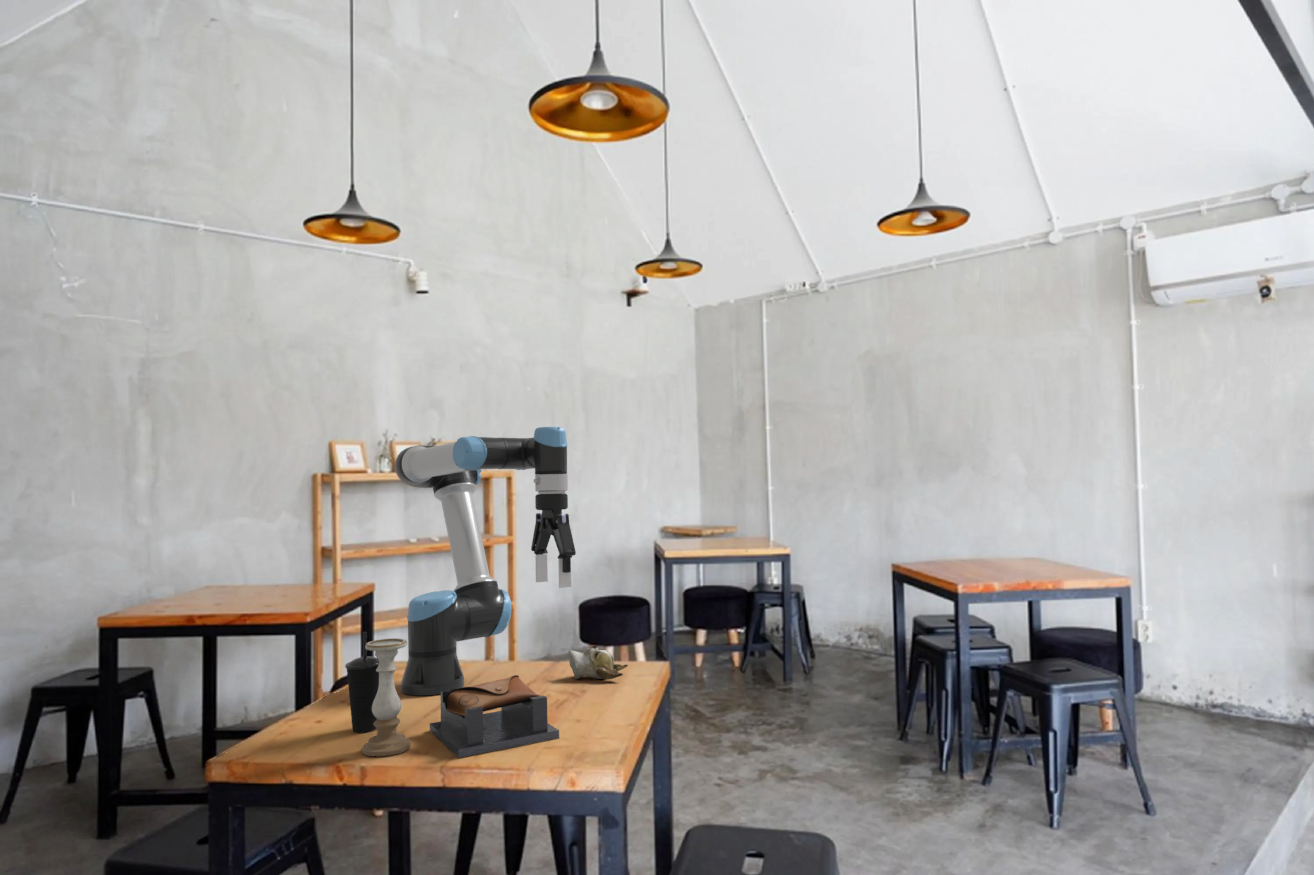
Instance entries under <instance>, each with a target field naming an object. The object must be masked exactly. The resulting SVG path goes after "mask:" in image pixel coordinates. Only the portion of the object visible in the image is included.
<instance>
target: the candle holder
mask: <svg viewBox="0 0 1314 875" xmlns="http://www.w3.org/2000/svg"><path fill="white" fill-rule="evenodd" d="M406 647H408V641H407V640H406V639H404V638H395V637H394V638H381V639H374V640H371V641H368V642H367V644H366V646H365V648H366V649H367V651H371V652H374V657H376V658H378V660H379V666H378V667H377V669H376V672H379V687H378V691H377V694H376V696H375V699H374V701H373V704H372V713H373V715H374V716H375V717H376V718H377V719H376V721H375V722H374V726H375V727H376V732H377V733H376V735H374V736H372V737H370V738H369V739H368V740H367V742H366V743H364V745H362V754H364V755H365V756H368V757H374V756H376V757H379V758H380V757H389V756H395V755H398V754H402V753H404V752H406V751H408V750H409V749H410V748H411V746H412V742H411V740H410V738H408V737H406V735H405V734H404V733H401V732H397V729H398V728H397V727H398V725H399V724H400V722H401V720H400V718H398V717H397V716H399V714H400V712H401V710H402V702H401V699H400V696H399V694H398V692H397V689H396V686H395V671H396V670H398V668H397V666H396V664H395V658H396V656H397V655H398V654H399V651H398V650H399V649H403V648H406ZM376 757H375V758H376Z"/></svg>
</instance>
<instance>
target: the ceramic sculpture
mask: <svg viewBox="0 0 1314 875" xmlns="http://www.w3.org/2000/svg"><path fill="white" fill-rule="evenodd" d="M568 657H569V658H568V659H569V666H570V668H571V670H572V673H573V676H574V678H575V679H577V680H578V679H582V678H583V677H590V678H592V679H595V680H596V679H597V680H603V679H605V680H612V679H616V678H619V677H622V676H623V675H624V674H623V672H619V671H622V670H624V669H626V668H627V667H628V666H629V665H628V664H626V663H625V664H623V665H622V664H619V663H616V662H615V661H614V656H613V655H612V653H611V652H610V651H609V650H606V649H599V647H598V645H596V644H595V645H592V646H590V647H588V648H587V649H586V650H585V651H584V652H580V651H575V650H572V649H569V650H568Z"/></svg>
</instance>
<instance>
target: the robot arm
mask: <svg viewBox="0 0 1314 875" xmlns="http://www.w3.org/2000/svg"><path fill="white" fill-rule="evenodd" d="M456 440H457V441H454V442H450V443H445V444H439V445H425V444H424V445H423V444H422V445H421V444H420V445H413V446H408V447H406V448H404V449H403V450H401V451H400V452H399V454H398V455H397V456H396V459H395V461H394V471H395V474H396V475H397V477H398V478H399V479H400V481H402V482H403V484H406V485H407V486H410V487H413V488H419V489H420V488H421V489H427V488H428V489H432V491H433V497H435V499H437V500H438V501H440V503H441V508H442V512H443V518H444V522H445V526H446V532H447V536H448V537H447V538H448V541H449V548H450V552H451V558H452V562H453V567H454V573H455V577H456V583H457V585H456V586H455V588H454V590H450V589H448V590H446V589H445V590H439V591H431V592H427V593H423V594H419V595H418V596H415V597H414V598H412V599H411V600H410V601H409V604H408V609H407V617H406V618H407V640H408V641H407V648H408V649H407V650H408V651H407V652H408V656H407V657H408V659H407V662H406V665H405V668H404V672H403V676H402V678H401V682H400V692H402V693H403V694H405V695H410V696H434V695H441V690H448V689H454V688H455V689H457V688H461V687H465V676H464V672H463V669H462V667H461V664H460V661H459V658H458V654H457V643H458V642H463V641H469V640H473V639H481V638H489V637H492V636H496V635H499V634H502V633H503V632H504V631H505V630H506V629H507V627H508V626H509V623H510V620H511V616H512V601H511V597H510V595H509V593H508V592H507V591H506V590H505V589H502V588H499V585H498V580H496V579H495V578H493V577H491V575H490V570H489V565H488V561H487V556H486V550H485V547H484V543H483V538H482V532H481V529H480V524H479V519H478V513H477V510H476V504H475V500H474V496H473V495H474V493H475V492H476V490H477V489H478V488H477V485H478V484H479V483H480V481H481V478H482V474H481V473H482V470H517V471H521V470H522V471H524V470H531V469H533V470H534V479H533V483H534V484H535V485H534V486H535V492H537V493H538V494H536V495H535V496H534V497H535V502H534V504H535V506H534V507H535V510H537V511H541V512H537V513H535V525H534V530H533V537H532V541H531V549H530V550H531V551H532V552H533V553H534V556H535V557H534V558H535V583H544V582H545V583H546V582H548V553H549V552H548V550H547V548H548V547H549V546H548V545H549V542H550V539H551V536H553V540H554V542H555V545H556V548H557V551H558V556H557V559H558V562H557V563H558V587H559V589H560V588H561V589H562V588H572V558H573V556H576V553H577V552H576V548H575V544H574V539H573V534H572V529H571V524H570V515H569V513H563V512H562V511H563V510H567V509H568V507H569V501H568V500H569V499H568V498H569V496H568V493H566V492H567V491H568V490H569V489H568V488H569V487H568V480H569V479H568V442H567V431H566V429H565V428H564V427H560V426H539V427H537V428H535V430H534V434H533V437H522V438H521V437H488V436H487V437H486V436H485V437H484V436H482V437H481V436H462V437H458V438H457V439H456Z"/></svg>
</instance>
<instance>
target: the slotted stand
mask: <svg viewBox="0 0 1314 875" xmlns="http://www.w3.org/2000/svg"><path fill="white" fill-rule="evenodd" d="M454 689H455V688H454ZM454 689H448V690H441V694H440V721H436V722H431V723H429V732H431V734H432V735H434V736H435V737H436V738H437V739H438V740H439V741H440V742H441V743H442V744H443V745H444V746H445V747H446V748H447V749H448V750H449V751H451V752H452V753H453V755H455V756H456V757H457V758H458V759H462V758H467V757H471V756H476V755H481V754H486V753H491V752H496V751H497V752H498V751H501V750H505V749H512V748H516V747H521V746H526V745H530V744H536V743H540V742H541V743H542V742H547V741H552V740H555V739H560V730H559V729H557V728H556V727H555V726H553V725H551V724H550V723H548V697H547V696H546V695H540V696H538V697H532V698H530V700H527V701H524V702H521V703H518V704H514V705H510V706H505V707H501V710H498V711H492V712H486V713H484V712H483V708H482V707H481V706H479V707H473V708H467V709H465V716H461V715H456V714H453V713H451V712H448V711H447V710H446V707H445V698H446V696H447V694H448V693H449V692H450V691H452V690H454Z"/></svg>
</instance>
